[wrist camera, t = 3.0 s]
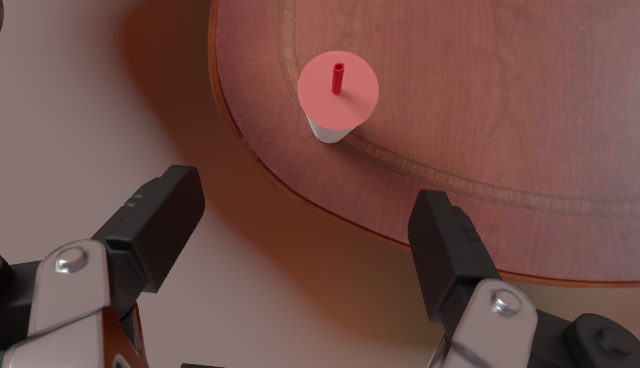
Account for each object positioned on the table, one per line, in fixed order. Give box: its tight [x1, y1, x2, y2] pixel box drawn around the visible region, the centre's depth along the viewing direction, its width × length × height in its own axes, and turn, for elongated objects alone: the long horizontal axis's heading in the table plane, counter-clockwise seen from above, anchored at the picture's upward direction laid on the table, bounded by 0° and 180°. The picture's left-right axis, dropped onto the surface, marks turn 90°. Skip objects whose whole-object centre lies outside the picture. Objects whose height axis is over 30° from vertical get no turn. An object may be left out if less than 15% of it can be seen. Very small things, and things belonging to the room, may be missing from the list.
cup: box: [298, 51, 379, 143], centre depth 21 cm, size 5×5×12 cm
